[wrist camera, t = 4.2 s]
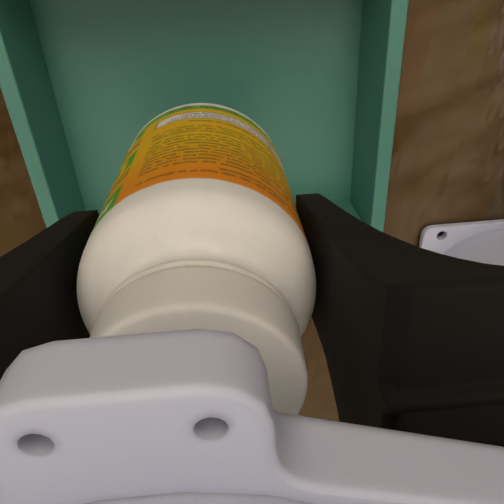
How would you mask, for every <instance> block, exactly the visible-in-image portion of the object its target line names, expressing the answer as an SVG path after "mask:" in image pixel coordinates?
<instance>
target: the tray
mask: <svg viewBox="0 0 504 504" xmlns="http://www.w3.org/2000/svg"><path fill="white" fill-rule="evenodd" d="M408 1H409V0H0V87H1V90H2V93H3V96H4V100H5V103H6V106H7V109H8V112H9V115H10V118H11V121H12V124H13V127H14V130H15V133H16V136H17V139H18V142H19V145H20V148H21V151H22V155H23V158H24V161H25V164H26V167H27V170H28V173H29V176H30V179H31V182H32V185H33V188H34V191H35V194H36V197H37V200H38V203H39V206H40V210H41V213H42V216H43V219H44V222H45V225H46V228H48V227H49V226H51V225H52V224H54V223H55V222H57V221H58V220H60V219H62V218H63V217H65V216H67V215H68V214H70V213H73V212H75V211H88V210H98V213H99V215H100V213H101V211H102V208H103V206H104V204H105V202H106V200H107V198H108V196H109V193H110V191H111V189H112V186H113V184H114V182H115V180H116V177H117V175H118V173H119V171H120V168H121V166H122V164H123V161H124V159H125V157H126V154H127V152H128V150H129V148H130V146H131V144H132V142H133V141H134V139H135V137H136V136H137V135H138V133H139V132H140V131H141V130H142V128H143V127H144V126H145V125H146V124H147V123H148V122H150V121H151V120H152V119H153V118H155V117H156V116H158V115H159V114H161V113H163V112H165V111H167V110H169V109H172V108H175V107H177V106H181V105H185V104H191V103H211V104H218V105H222V106H226V107H229V108H232V109H234V110H237V111H239V112H241V113H242V114H244V115H246V116H247V117H249V118H250V119H252V120H253V121H254V122H255V123H257V124H258V125H259V126H260V127H261V128H262V129H263V130H264V131H265V133H266V134H267V135H268V137H269V138H270V140H271V141H272V143H273V145H274V147H275V149H276V151H277V153H278V155H279V158H280V161H281V163H282V166H283V170H284V173H285V176H286V179H287V182H288V185H289V188H290V191H291V194H292V197H293V200H294V203H295V206H296V195H300V194H313V193H319V194H321V195H322V196H324V197H325V198H327V199H328V200H330V201H331V202H333V203H334V204H336V205H337V206H339V207H340V208H342V209H343V210H345V211H346V212H348V213H350V214H351V215H353V216H354V217H356V218H358V219H359V220H361V221H363V222H364V223H366V224H368V225H370V226H372V227H374V228H375V229H377V230H379V231H381V232H383V230H384V220H385V211H386V202H387V193H388V184H389V175H390V166H391V156H392V147H393V138H394V129H395V120H396V111H397V101H398V92H399V83H400V74H401V65H402V56H403V47H404V37H405V28H406V19H407V10H408Z"/></svg>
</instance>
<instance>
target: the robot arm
mask: <svg viewBox="0 0 504 504" xmlns="http://www.w3.org/2000/svg"><path fill="white" fill-rule="evenodd" d="M296 209H297V212H298V215H299V218H300V221H301V224H302V227H303V230H304V232H305V235H306V238H307V241H308V245H309V248H310V251H311V255H312V260H313V263H314V268H315V274H316V299H315V305H314V310H313V313H312V318H313V321H314V323H315V326H316V329H317V332H318V335H319V338H320V340H321V343H322V346H323V350H324V353H325V356H326V360H327V364H328V369H329V373H330V377H331V382H332V386H333V391H334V396H335V400H336V405H337V410H338V414H339V419H340V422H338V421H331V420H325V419H318V418H312V417H305V416H299V415H292V414H286V413H279V412H277V411H275V410H274V409H273V407H272V403H271V396H270V388H269V381H268V373H267V369H266V366H265V364H264V362H263V360H262V357H261V355H260V353H259V350H258V348H257V347H255V346H253V345H252V344H250V343H249V342H247V341H245V340H244V339H242V338H241V337H239V336H237V335H236V334H234V333H232V332H223V331H215V330H206V329H190V330H178V331H166V332H154V333H142V334H131V335H119V336H107V337H95V338H89V337H90V334H89V332H88V330H87V328H86V326H85V324H84V322H83V319H82V317H81V314H80V310H79V306H78V301H77V274H78V268H79V263H80V260H81V257H82V254H83V251H84V249H85V246H86V244H87V241H88V239H89V236H90V234H91V232H92V230H93V228H94V226H95V224H96V222H97V219H98V217H99V213H98V210H88V211H75V212H73V213H70V214H68V215H67V216H65V217H63V218H62V219H60V220H58V221H57V222H55V223H54V224H52V225H51V226H49V227H48V228H46V229H45V230H43V231H42V232H40V233H39V234H37V235H35V236H34V237H32V238H31V239H29V240H28V241H26V242H25V243H23V244H21V245H20V246H18V247H16V248H15V249H13V250H11V251H10V252H8V253H6V254H5V255H3V256H1V257H0V504H504V219H498V220H486V221H474V222H462V223H450V224H438V225H430V226H427V227H425V228H424V229H423V230H422V232H421V235H420V241H419V247H417V246H414V245H412V244H409V243H406V242H404V241H402V240H399V239H397V238H394V237H392V236H390V235H387V234H385V233H383V232H381V231H379V230H377V229H375V228H374V227H372V226H370V225H368V224H366V223H364V222H363V221H361V220H359V219H358V218H356V217H354V216H353V215H351V214H350V213H348V212H346V211H345V210H343V209H342V208H340V207H339V206H337V205H336V204H334V203H333V202H331V201H330V200H328V199H327V198H325V197H324V196H322V195H321V194H319V193H313V194H300V195H296ZM442 231H444V232H443V234H442V235H441V236H437V235H438V233H439V232H442Z"/></svg>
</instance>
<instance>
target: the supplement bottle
mask: <svg viewBox="0 0 504 504" xmlns="http://www.w3.org/2000/svg"><path fill="white" fill-rule="evenodd" d="M315 299H316V274H315V268H314V263H313V260H312V255H311V251H310V248H309V245H308V241H307V238H306V235H305V232H304V230H303V227H302V224H301V221H300V218H299V215H298V212H297V209H296V206H295V203H294V200H293V197H292V194H291V191H290V188H289V185H288V182H287V179H286V176H285V173H284V170H283V166H282V163H281V161H280V158H279V155H278V153H277V151H276V149H275V147H274V145H273V143H272V141H271V140H270V138H269V137H268V135H267V134H266V133H265V131H264V130H263V129H262V128H261V127H260V126H259V125H258V124H257V123H255V122H254V121H253V120H252V119H250V118H249V117H247V116H246V115H244V114H242V113H241V112H239V111H237V110H234V109H232V108H229V107H226V106H222V105H218V104H211V103H191V104H185V105H181V106H177V107H175V108H172V109H169V110H167V111H165V112H163V113H161V114H159V115H158V116H156V117H155V118H153V119H152V120H151V121H150V122H148V123H147V124H146V125H145V126H144V127H143V128H142V130H141V131H140V132H139V133H138V135H137V136H136V137H135V139H134V141H133V142H132V144H131V146H130V148H129V150H128V152H127V154H126V157H125V159H124V161H123V164H122V166H121V168H120V171H119V173H118V175H117V177H116V180H115V182H114V184H113V186H112V189H111V191H110V193H109V196H108V198H107V200H106V202H105V204H104V206H103V208H102V211H101V213H100V215H99V217H98V219H97V222H96V224H95V226H94V228H93V230H92V232H91V234H90V236H89V239H88V241H87V244H86V246H85V249H84V251H83V254H82V257H81V260H80V263H79V268H78V274H77V301H78V306H79V310H80V314H81V317H82V319H83V322H84V324H85V326H86V328H87V330H88V332H89V334H90V337H89V338H95V337H107V336H119V335H131V334H142V333H154V332H166V331H178V330H190V329H206V330H215V331H223V332H232V333H234V334H236V335H237V336H239V337H241V338H242V339H244V340H245V341H247V342H249V343H250V344H252V345H253V346H255V347H257V348H258V350H259V353H260V355H261V357H262V360H263V362H264V364H265V366H266V369H267V373H268V381H269V388H270V396H271V403H272V407H273V409H274V410H275V411H277V412H279V413H286V414H292V415H298V414H299V413H300V411H301V409H302V407H303V404H304V401H305V398H306V393H307V389H308V373H307V367H306V362H305V357H304V352H303V347H302V339H301V337H302V335H303V333H304V332H305V330H306V328H307V326H308V324H309V321H310V319H311V316H312V313H313V310H314V305H315Z"/></svg>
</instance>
